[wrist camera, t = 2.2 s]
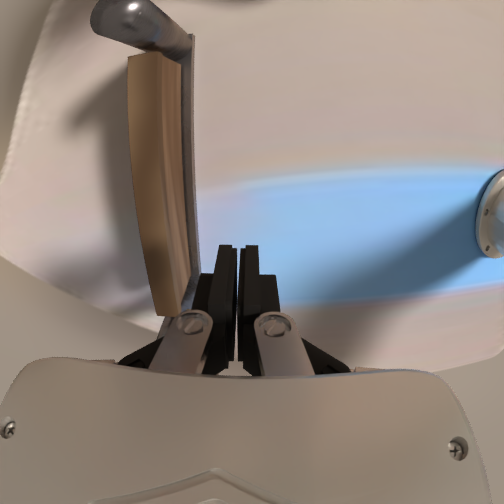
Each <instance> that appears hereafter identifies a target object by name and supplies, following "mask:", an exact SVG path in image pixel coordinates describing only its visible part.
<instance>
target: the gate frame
mask: <svg viewBox="0 0 504 504" xmlns="http://www.w3.org/2000/svg"><path fill="white" fill-rule="evenodd" d="M90 24H91V28H92V30H93V31H94V32H95V33H96V34H98V35H101V36H104V37H107V38H110V39H113V40H116V41H119V42H122V43H124V44H127V45H130V46H133V47H135V48H138V49H140V50H143V51H145V52H148V53H150V52H156V51H158V52H160V53H162V54H163V56H164V57H166V58H168V59H170V60H172V61H175V62H177V63H179V64H181V143H182V168H183V186H184V202H185V216H186V228H187V239H188V250H189V260H190V269H191V276H190V279H189V281H188V284H187V287H186V290H185V293H184V296H183V299H182V302H181V309H182V310H181V312H184V311H187V310H191V308H192V304H193V300H194V296H195V292H196V288H197V284H198V280H199V277H200V274H201V264H200V251H199V238H198V223H197V206H196V186H195V160H194V48H195V36H194V35H193V34H187V33H186V32H185V31H184V30H183V29H182V28H181V27H180V26H179V25H178V24H177V23H175V22H174V21H173V20H172V19H171V18H170V17H169V16H168V15H166V14H165V13H164V12H163V11H162V10H161V9H160V8H158V7H157V6H156V5H155V4H154V3H152V2H151V1H150V0H100V1H99V2H98V3H97V4H96V6H95V7H94V9H93V11H92V14H91V18H90ZM174 318H175V317H167V316H165V318H164V320H163V323H162V326H161V328H160V331H159V334H158V337H157V340H158V339H159V338H161V337H163V336H165V334H166V333H167V331H168V329H169V327H170V325H171V323H172V321H173V319H174Z"/></svg>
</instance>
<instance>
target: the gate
mask: <svg viewBox="0 0 504 504" xmlns="http://www.w3.org/2000/svg"><path fill="white" fill-rule="evenodd" d="M127 98H128V128H129V144H130V157H131V168H132V178H133V187H134V196H135V203H136V211H137V218H138V224H139V231H140V237H141V243H142V248H143V254H144V259H145V264H146V269H147V274H148V279H149V284H150V288H151V293H152V297H153V301H154V306H155V310H156V314H157V316H167V317H176V316H177V315H178V314H180V313H181V310H182V309H181V302H182V299H183V296H184V293H185V290H186V287H187V284H188V281H189V279H190V276H191V269H190V260H189V250H188V239H187V228H186V216H185V202H184V186H183V168H182V143H181V64H179V63H177V62H175V61H172V60H170V59H168V58H166V57H164V56H163V54H162V53H160V52H158V51H156V52H150V53H144V54H139V55H134V56H129V57H128V73H127Z"/></svg>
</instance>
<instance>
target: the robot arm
mask: <svg viewBox="0 0 504 504" xmlns="http://www.w3.org/2000/svg"><path fill="white" fill-rule="evenodd" d="M475 229H476V239H477V243H478V246H479V248H480V249H481V250H482V252H483V253H484V254H486V255H487V256H488V257H490V258H500V257H503V256H504V170H503V171H501V172H500V173H498V174H497V175H496V176H495V177H494V178H493V179H492V181H491V182H490V184H489V185H488V187H487V188H486V190H485V192H484V194H483V197H482V199H481V202H480V205H479V208H478V212H477V218H476V228H475ZM236 314H237V333H238V361H243V369H245V370H246V371H247V372H249V373H250V374H251V375H252V376H223V375H222V376H221V375H218V373H219V372H221V371H222V370H224V369H228V364H229V361H234V349H235V331H236ZM0 504H492V500H491V494H490V489H489V484H488V479H487V475H486V470H485V467H484V463H483V460H482V457H481V454H480V450H479V447H478V445H477V441H476V438H475V435H474V432H473V430H472V427H471V425H470V422H469V420H468V418H467V415H466V413H465V411H464V409H463V407H462V405H461V403H460V401H459V399H458V398H457V396H456V394H455V392H454V391H453V389H452V388H451V387H450V385H449V384H448V383H447V382H446V381H445V380H444V379H443V378H441V377H440V376H438V375H435V374H433V373H429V372H425V371H420V370H413V369H376V368H363V367H355V370H353V369H349V368H348V367H347V366H346V365H345V364H344V363H342V362H340V361H339V360H337V359H335V358H334V357H332V356H330V355H329V354H327V353H325V352H324V351H322V350H320V349H319V348H317V347H316V346H314V345H312V344H311V343H309V342H307V341H306V340H304V339H303V338H301V337H300V334H299V331H298V329H297V326H296V324H295V322H294V320H293V319H292V318H291V317H290V316H288V315H286V314H284V313H281V312H280V304H279V296H278V288H277V281H276V275H259V254H258V245H246V248H241V251H240V267H239V283H238V299H237V248H232V245H219V249H218V254H217V259H216V264H215V269H214V274H210V273H201V274H200V277H199V280H198V284H197V288H196V292H195V296H194V300H193V304H192V308H191V310H187V311H184V312H181V313H180V314H178V315H177V316H176V317H175V318H174V319H173V321H172V323H171V325H170V327H169V329H168V331H167V333H166V334H165V336H163V337H161V338H159V339H158V340H156V341H154V342H152V343H150V344H148V345H146V346H145V347H143V348H141V349H139V350H137V351H135V352H133V353H132V354H130V355H127V356H126V357H124V358H123V359H122V360H120V361H119V362H115V360H84V359H78V358H68V357H51V358H43V359H39V360H35V361H33V362H31V363H29V364H27V365H26V366H25V367H24V368H23V369H22V370H21V371H20V372H19V374H18V375H17V377H16V378H15V380H14V381H13V383H12V384H11V386H10V388H9V390H8V391H7V393H6V395H5V397H4V399H3V401H2V403H1V405H0Z"/></svg>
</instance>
